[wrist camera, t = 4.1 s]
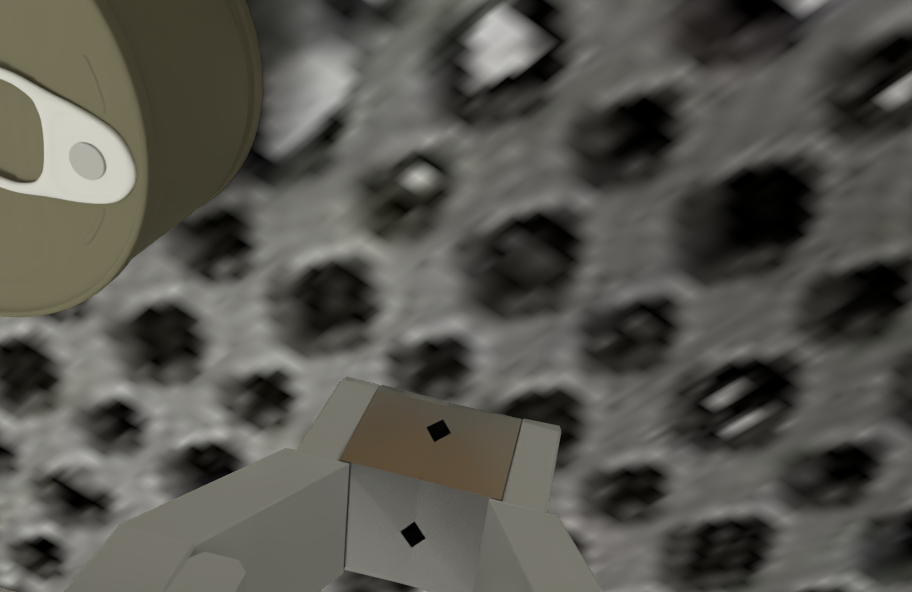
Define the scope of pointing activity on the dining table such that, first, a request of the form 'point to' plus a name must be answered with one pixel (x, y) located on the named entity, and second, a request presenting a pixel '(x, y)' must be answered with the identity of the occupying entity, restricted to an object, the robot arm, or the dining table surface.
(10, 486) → the dining table surface
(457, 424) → the robot arm
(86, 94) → the can
